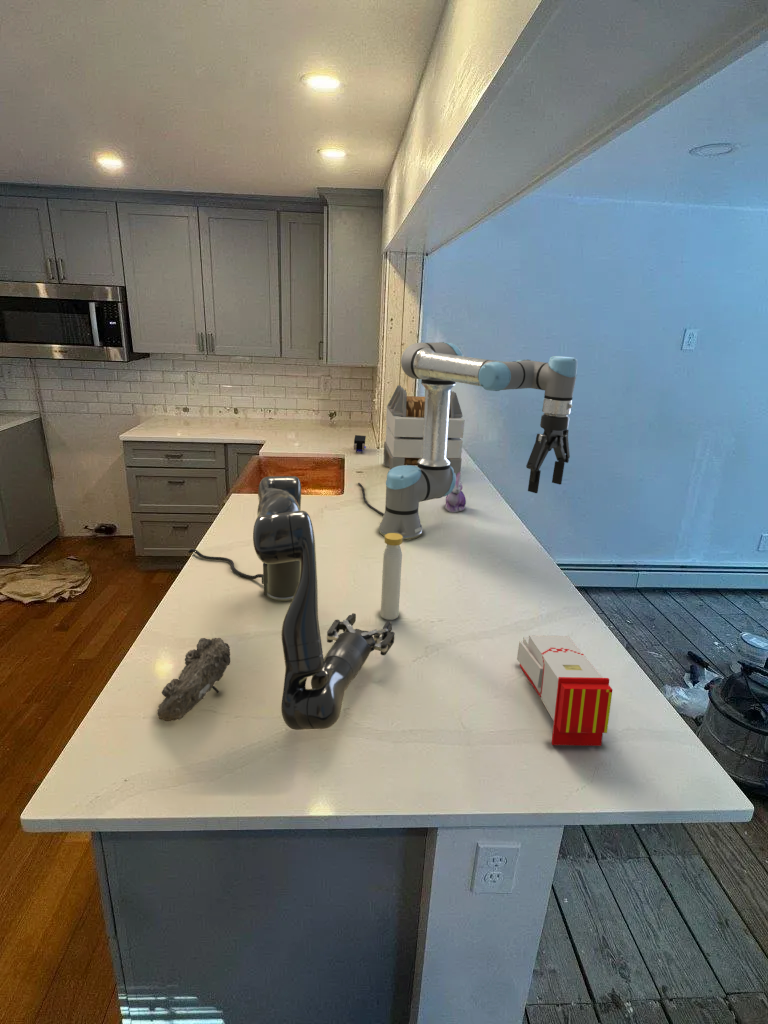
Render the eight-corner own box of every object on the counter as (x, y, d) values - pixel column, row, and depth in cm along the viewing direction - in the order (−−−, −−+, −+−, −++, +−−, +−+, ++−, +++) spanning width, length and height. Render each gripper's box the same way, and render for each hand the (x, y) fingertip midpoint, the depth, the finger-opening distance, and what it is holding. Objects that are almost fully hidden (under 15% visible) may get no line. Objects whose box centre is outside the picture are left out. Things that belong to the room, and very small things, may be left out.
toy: (564, 619, 129) (622, 685, 100) (558, 672, 132) (613, 753, 103) (511, 618, 129) (554, 684, 100) (507, 672, 132) (547, 752, 102)
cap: (389, 537, 143) (389, 531, 142) (405, 540, 141) (405, 535, 140) (381, 543, 139) (381, 537, 138) (397, 547, 137) (397, 541, 137)
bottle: (385, 609, 150) (389, 532, 142) (401, 613, 148) (406, 536, 140) (377, 616, 146) (380, 538, 138) (393, 621, 144) (398, 542, 137)
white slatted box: (382, 463, 289) (386, 382, 275) (445, 464, 293) (451, 384, 279) (390, 482, 257) (394, 392, 243) (460, 483, 261) (468, 394, 247)
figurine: (452, 514, 221) (455, 477, 216) (438, 506, 229) (441, 470, 224) (472, 511, 225) (475, 475, 220) (457, 503, 234) (460, 468, 229)
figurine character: (365, 456, 306) (365, 447, 319) (365, 443, 302) (366, 434, 316) (353, 456, 306) (353, 446, 319) (353, 442, 302) (354, 433, 316)
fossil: (183, 640, 124) (231, 608, 119) (213, 669, 127) (261, 639, 122) (134, 715, 105) (189, 682, 100) (171, 748, 108) (227, 717, 103)
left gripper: (378, 650, 114) (401, 612, 128) (313, 635, 118) (343, 600, 132) (377, 681, 116) (399, 640, 131) (313, 666, 120) (342, 628, 135)
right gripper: (544, 421, 146) (533, 499, 153) (589, 412, 163) (577, 482, 170) (519, 416, 151) (510, 492, 158) (565, 408, 168) (554, 477, 175)
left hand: (371, 620), depth 132 cm, fingers open, 8 cm apart
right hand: (544, 487), depth 164 cm, fingers open, 13 cm apart
